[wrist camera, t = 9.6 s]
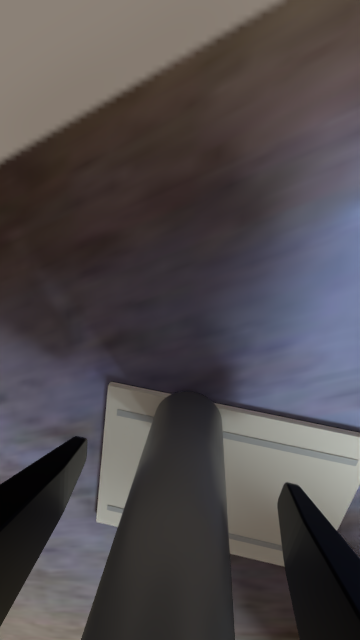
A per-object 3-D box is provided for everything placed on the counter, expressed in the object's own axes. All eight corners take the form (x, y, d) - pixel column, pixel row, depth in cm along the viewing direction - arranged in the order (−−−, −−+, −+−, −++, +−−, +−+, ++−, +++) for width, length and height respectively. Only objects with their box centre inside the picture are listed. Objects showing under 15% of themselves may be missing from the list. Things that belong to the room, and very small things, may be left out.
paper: (313, 566, 13) (316, 575, 13) (98, 516, 14) (95, 522, 13) (376, 436, 10) (381, 442, 10) (110, 381, 11) (107, 385, 11)
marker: (215, 455, 11) (227, 1144, 3) (149, 441, 11) (-37, 1044, 3) (230, 398, 10) (318, 1150, 2) (158, 383, 11) (-71, 1006, 2)
